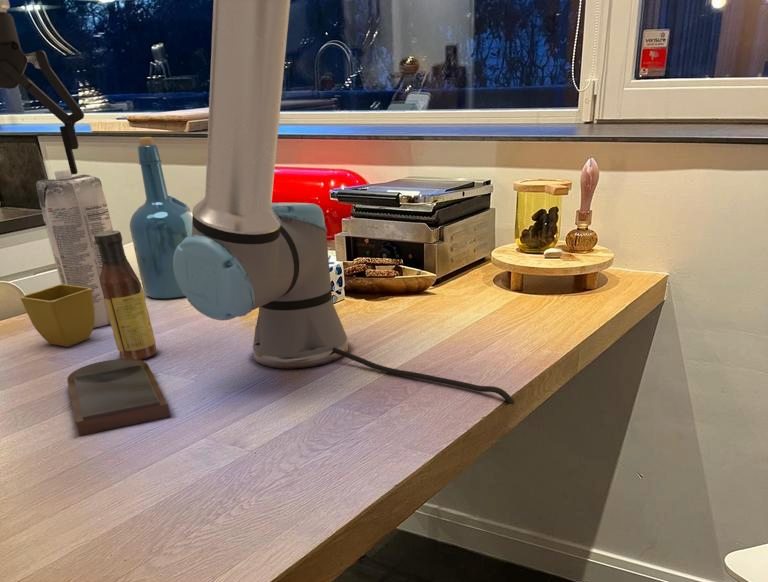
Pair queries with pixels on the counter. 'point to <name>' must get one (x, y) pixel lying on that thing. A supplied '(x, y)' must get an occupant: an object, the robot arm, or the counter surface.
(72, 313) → the flower pot
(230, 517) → the counter surface
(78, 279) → the juice carton
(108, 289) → the sauce bottle
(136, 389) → the board
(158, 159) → the wine bottle
